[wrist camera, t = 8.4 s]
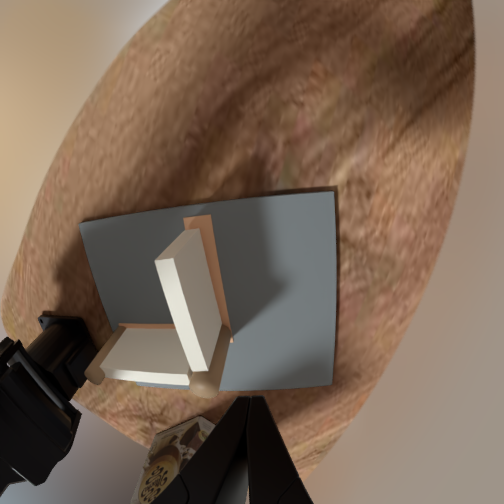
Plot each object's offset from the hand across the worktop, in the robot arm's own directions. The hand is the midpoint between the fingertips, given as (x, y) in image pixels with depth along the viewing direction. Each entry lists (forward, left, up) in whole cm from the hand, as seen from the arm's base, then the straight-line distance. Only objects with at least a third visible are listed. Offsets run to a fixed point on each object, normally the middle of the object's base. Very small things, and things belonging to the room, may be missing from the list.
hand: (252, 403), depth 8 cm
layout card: (-4, -4, -12) cm, 13 cm away
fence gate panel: (-4, -1, -11) cm, 12 cm away
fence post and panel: (-8, -5, -11) cm, 15 cm away
